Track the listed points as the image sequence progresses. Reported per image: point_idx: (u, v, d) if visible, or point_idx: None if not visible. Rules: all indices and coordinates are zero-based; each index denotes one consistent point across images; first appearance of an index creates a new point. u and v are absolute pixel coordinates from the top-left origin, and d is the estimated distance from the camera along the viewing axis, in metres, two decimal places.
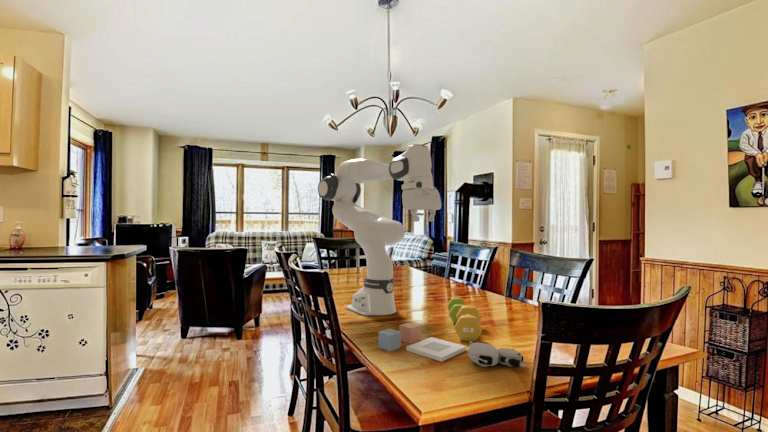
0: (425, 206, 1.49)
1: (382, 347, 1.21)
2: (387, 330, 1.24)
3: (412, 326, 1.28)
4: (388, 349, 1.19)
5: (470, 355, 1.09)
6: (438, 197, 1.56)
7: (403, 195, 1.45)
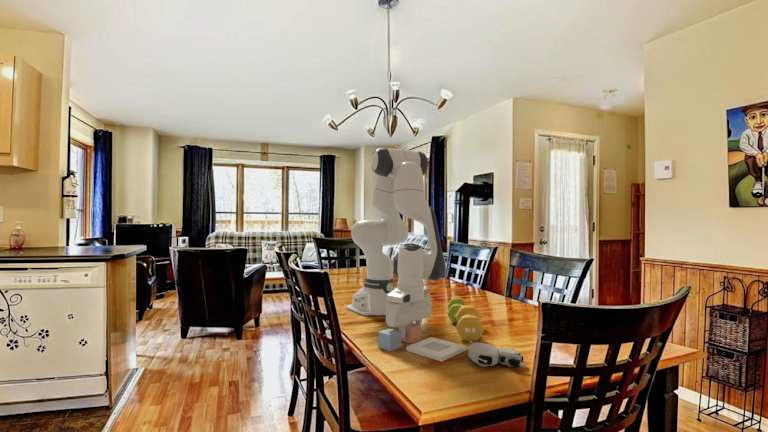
0: (412, 320, 1.28)
1: (382, 347, 1.21)
2: (387, 330, 1.24)
3: (412, 326, 1.28)
4: (388, 349, 1.19)
5: (470, 355, 1.09)
6: (429, 303, 1.34)
7: (387, 309, 1.23)
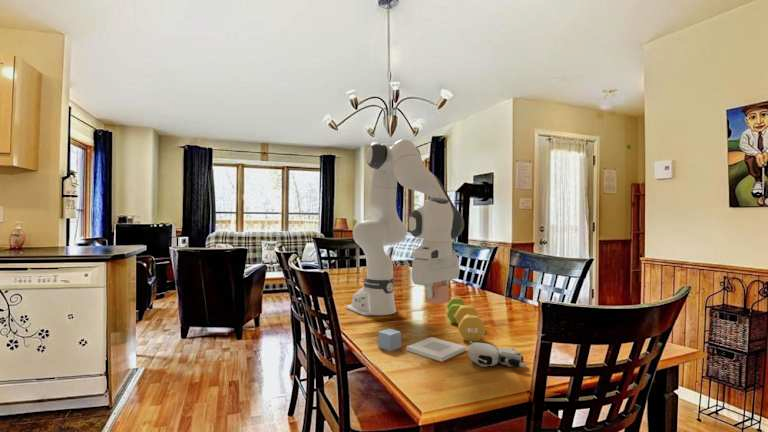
0: (440, 279, 1.18)
1: (382, 347, 1.21)
2: (387, 330, 1.24)
3: (440, 285, 1.18)
4: (388, 349, 1.19)
5: (470, 355, 1.09)
6: (456, 263, 1.24)
7: (413, 266, 1.14)
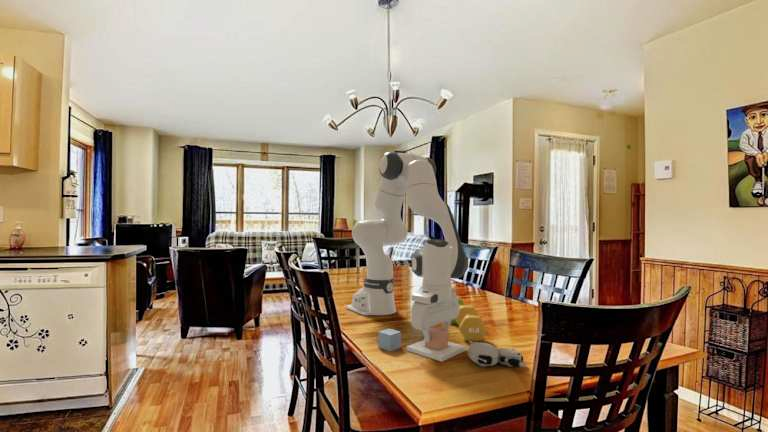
0: (439, 322, 1.18)
1: (382, 347, 1.21)
2: (387, 330, 1.24)
3: (439, 331, 1.19)
4: (388, 349, 1.19)
5: (470, 355, 1.09)
6: (456, 304, 1.25)
7: (413, 310, 1.14)
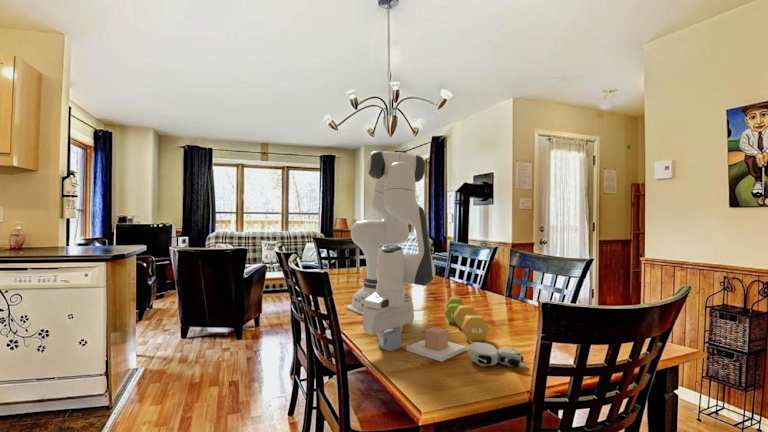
0: (392, 326, 1.20)
1: (382, 347, 1.21)
2: (387, 330, 1.24)
3: (439, 331, 1.19)
4: (388, 349, 1.19)
5: (470, 354, 1.09)
6: (410, 308, 1.27)
7: (364, 315, 1.16)
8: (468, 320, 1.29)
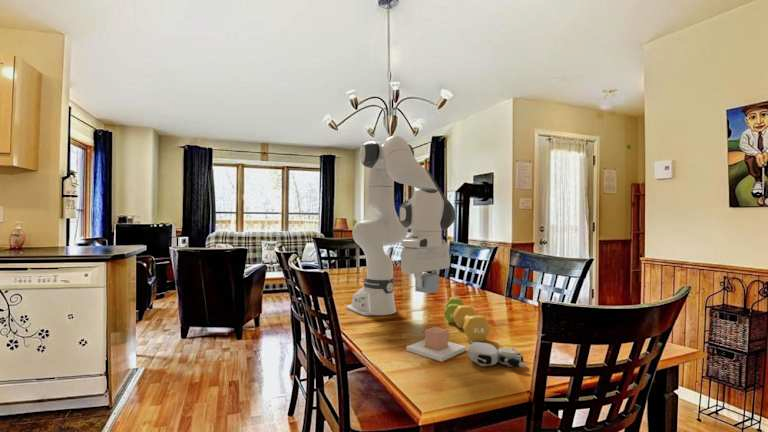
0: (429, 268, 1.18)
1: (420, 290, 1.18)
2: (424, 274, 1.21)
3: (439, 331, 1.19)
4: (426, 291, 1.17)
5: (469, 354, 1.09)
6: (447, 253, 1.24)
7: (402, 255, 1.14)
8: (470, 320, 1.28)
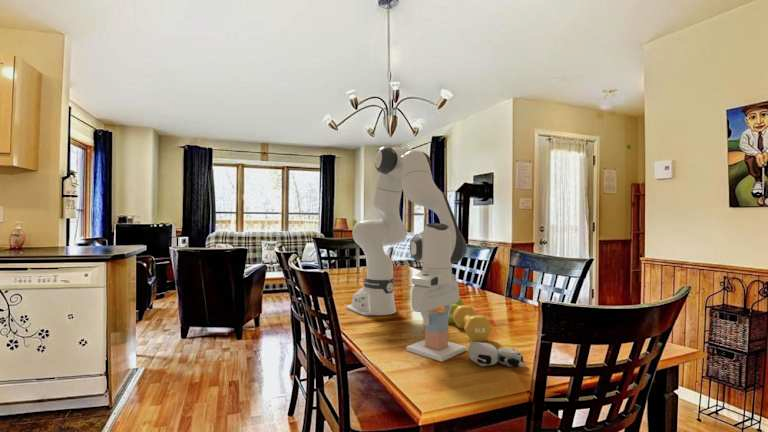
0: (439, 305, 1.18)
1: (429, 329, 1.19)
2: (433, 312, 1.21)
3: None
4: (436, 331, 1.17)
5: (469, 354, 1.09)
6: (456, 288, 1.25)
7: (413, 293, 1.14)
8: (471, 320, 1.28)
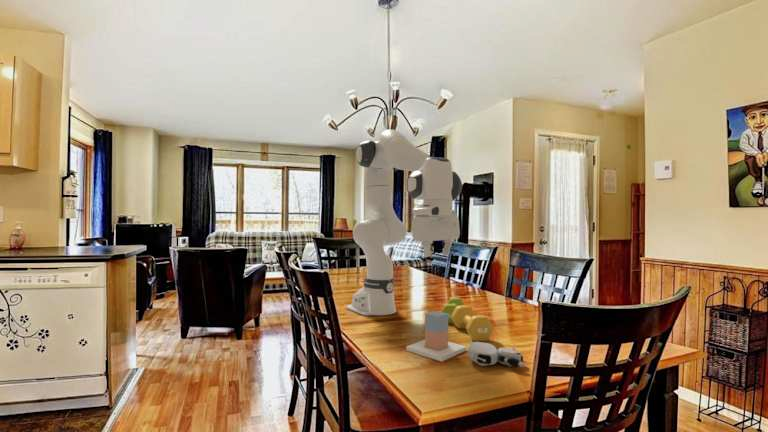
0: (440, 237, 1.18)
1: (429, 329, 1.19)
2: (433, 312, 1.21)
3: None
4: (436, 331, 1.17)
5: (469, 354, 1.09)
6: (457, 224, 1.24)
7: (414, 223, 1.14)
8: (474, 320, 1.28)
